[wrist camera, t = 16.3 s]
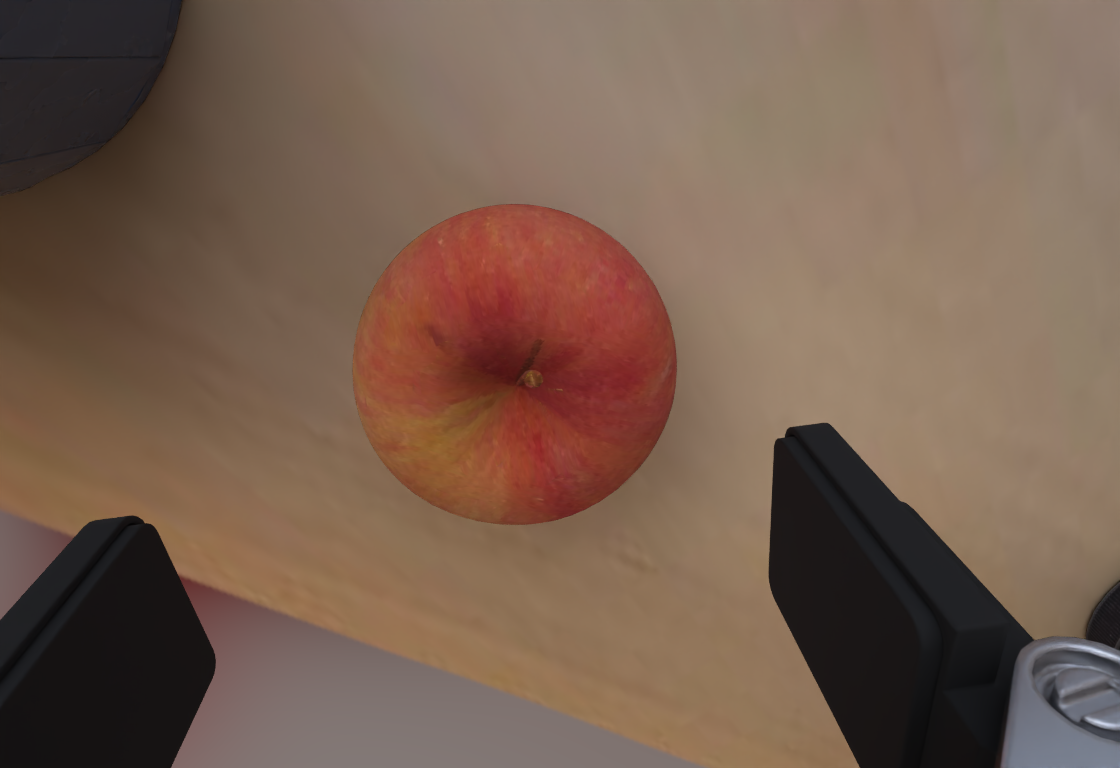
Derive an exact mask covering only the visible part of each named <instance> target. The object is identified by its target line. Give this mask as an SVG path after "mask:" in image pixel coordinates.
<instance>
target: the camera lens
mask: <svg viewBox="0 0 1120 768" xmlns="http://www.w3.org/2000/svg"><path fill="white" fill-rule="evenodd" d="M1086 640H1089V641H1094V642H1098V643H1102V644H1104V645H1107V646H1109V647H1112V648H1114V649H1117V650H1119V651H1120V582H1119V583H1118V584H1117V585H1116V586H1115V587H1114V588H1113V589H1112V590H1110V591H1109V592H1108V593H1107V594H1106V595H1105V597H1104V598H1103V600H1102V601H1101V602H1100V604H1099V605H1098V606H1097V608H1096V609H1095V611H1094V613H1093V615H1092V618H1091V620H1090V622H1089V624H1088V628H1087V633H1086Z"/></svg>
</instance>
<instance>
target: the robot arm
mask: <svg viewBox="0 0 1120 768" xmlns="http://www.w3.org/2000/svg"><path fill="white" fill-rule="evenodd" d="M769 583H770V587H771V591H772V594H773V597H774V599H775V601H776V603H777V605H778V607H779V609H780V611H781V613H782V615H783V617H784V619H785V621H786V623H787V625H788V627H789V629H790V631H791V633H792V635H793V637H794V639H795V641H796V643H797V645H798V646H799V648H800V650H801V652H802V654H803V656H804V658H805V660H806V662H807V664H808V666H809V668H810V670H811V672H812V674H813V676H814V678H815V680H816V682H817V684H818V686H819V688H820V690H821V692H822V694H823V696H824V698H825V700H826V702H827V704H828V706H829V707H830V709H831V711H832V713H833V715H834V717H835V719H836V721H837V723H838V725H839V727H840V729H841V731H842V733H843V735H844V737H845V739H846V741H847V743H848V745H849V747H850V749H851V751H852V753H853V755H854V757H855V759H856V761H857V763H858V765H859V767H860V768H1120V651H1119V650H1117V649H1114V648H1112V647H1109V646H1107V645H1104V644H1102V643H1098V642H1094V641H1089V640H1085V639H1081V638H1076V637H1056V636H1052V637H1047V638H1043V639H1038V640H1034V639H1033V638H1032V637H1031V636H1030V635H1029V634H1028V633H1027V632H1026V631H1025V630H1024V628H1023V627H1022V626H1021V625H1020V624H1019V623H1018V622H1017V621H1016V620H1015V619H1014V618H1013V617H1012V615H1011V614H1010V613H1009V612H1008V611H1007V610H1006V609H1005V608H1004V607H1003V606H1002V605H1001V604H1000V602H999V601H998V600H997V599H996V598H995V597H994V596H993V595H992V594H991V593H990V592H989V590H988V589H987V588H986V587H985V586H984V585H983V584H982V583H981V582H980V581H979V580H978V579H977V577H976V576H975V575H974V574H973V573H972V572H971V571H970V570H969V569H968V568H967V567H966V566H965V564H964V563H963V562H962V561H961V560H960V559H959V558H958V557H957V556H956V555H955V554H954V552H953V551H952V550H951V549H950V548H949V547H948V546H947V545H946V544H945V543H944V542H943V541H942V539H941V538H940V537H939V536H938V535H937V534H936V533H935V532H934V531H933V530H932V529H931V528H930V526H929V525H928V524H927V523H926V522H925V521H924V520H923V519H922V518H921V517H920V516H919V514H918V513H917V512H916V511H915V510H914V509H913V508H911V507H910V506H909V505H908V504H907V503H904V502H901V501H899V500H898V498H897V497H896V496H895V495H894V494H893V493H892V492H891V491H890V490H889V489H888V487H887V486H886V485H885V484H884V483H883V482H882V481H881V480H880V479H879V478H878V476H877V475H876V474H875V473H874V472H873V471H872V470H871V469H870V468H869V467H868V465H867V464H866V463H865V462H864V461H863V460H862V459H861V458H860V457H859V455H858V454H857V453H856V452H855V451H854V450H853V449H852V448H851V447H850V446H849V444H848V443H847V442H846V441H845V440H844V439H843V438H842V437H841V436H840V435H839V433H838V432H837V431H836V430H835V429H834V428H833V427H832V426H831V425H830V424H828V423H819V424H811V425H804V426H796V427H790V428H788V429H787V431H786V434H785V438H779V439H777V440H776V441H775V445H774V461H773V484H772V507H771V530H770V553H769ZM215 664H216V659H215V654H214V650H213V648H212V646H211V644H210V642H209V640H208V638H207V635H206V633H205V631H204V629H203V627H202V625H201V623H200V621H199V618H198V616H197V614H196V612H195V610H194V608H193V606H192V604H191V601H190V599H189V597H188V595H187V593H186V591H185V589H184V587H183V585H182V583H181V580H180V578H179V576H178V574H177V572H176V570H175V568H174V565H173V563H172V561H171V559H170V557H169V555H168V553H167V551H166V549H165V546H164V544H163V542H162V540H161V538H160V536H159V534H158V532H157V530H156V529H155V527H154V526H153V525H151V524H147V523H146V524H145V523H144V521H143V520H142V519H140V518H139V517H137V516H125V517H117V518H110V519H102V520H95V521H92V522H89V523H88V524H87V525H85V526H84V527H83V528H82V529H81V531H80V532H79V533H78V534H77V535H76V536H75V537H74V538H73V540H72V541H71V542H70V543H69V544H68V545H67V546H66V547H65V549H64V550H63V551H62V552H61V553H60V554H59V555H58V556H57V557H56V559H55V560H54V561H53V562H52V563H51V564H50V565H49V566H48V567H47V569H46V570H45V571H44V572H43V573H42V574H41V575H40V576H39V578H38V579H37V580H36V581H35V582H34V583H33V584H32V585H31V586H30V588H29V589H28V590H27V591H26V592H25V593H24V594H23V595H22V596H21V598H20V599H19V600H18V601H17V602H16V603H15V604H14V605H13V607H12V608H11V609H10V610H9V611H8V612H7V613H6V614H5V615H4V617H3V618H2V619H1V620H0V768H171V766H172V764H173V762H174V760H175V758H176V755H177V753H178V751H179V749H180V747H181V745H182V743H183V741H184V738H185V736H186V734H187V732H188V730H189V728H190V725H191V723H192V721H193V719H194V717H195V715H196V713H197V711H198V708H199V706H200V704H201V702H202V700H203V698H204V696H205V693H206V691H207V689H208V687H209V685H210V683H211V681H212V678H213V676H214V672H215Z"/></svg>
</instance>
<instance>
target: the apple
mask: <svg viewBox="0 0 1120 768" xmlns="http://www.w3.org/2000/svg"><path fill="white" fill-rule="evenodd" d="M676 372H677V359H676V348H675V340H674V336H673V331H672V327H671V323H670V320H669V317H668V314H667V311H666V308H665V306H664V303H663V301H662V299H661V297H660V295H659V293H658V291H657V289H656V287H655V285H654V284H653V282H652V280H651V279H650V278H649V276H648V275H647V273H646V272H645V270H644V269H643V268H642V266H641V265H640V264H639V263H638V262H637V260H636V259H635V258H634V257H633V256H632V255H631V254H630V253H629V252H628V251H627V249H625V248H624V247H623V246H622V245H621V244H620V243H619V242H618V241H616V240H615V239H614V238H612V237H611V236H610V235H608V234H607V233H605V232H604V231H603V230H601V229H599V228H597V227H596V226H594V225H592V224H590V223H589V222H587V221H585V220H583V219H581V218H578V217H576V216H573V215H571V214H568V213H565V212H562V211H558V210H555V209H551V208H546V207H540V206H533V205H521V204H508V205H495V206H488V207H483V208H479V209H475V210H471V211H468V212H464V213H461V214H459V215H456V216H454V217H451V218H449V219H447V220H445V221H443V222H441V223H439V224H437V225H435V226H433V227H432V228H430V229H429V230H427V231H426V232H424V233H423V234H421V235H420V236H419V237H417V238H416V239H415V240H414V241H412V242H411V243H410V244H409V245H407V246H406V247H405V248H404V249H403V250H402V251H401V252H400V253H399V254H398V255H397V256H396V257H395V259H394V260H393V261H392V262H391V263H390V265H389V266H388V267H387V268H386V270H385V271H384V272H383V274H382V275H381V277H380V278H379V280H378V282H377V283H376V285H375V286H374V288H373V290H372V292H371V294H370V296H369V298H368V300H367V303H366V305H365V308H364V310H363V313H362V316H361V319H360V322H359V326H358V330H357V334H356V340H355V345H354V354H353V386H354V394H355V400H356V405H357V409H358V413H359V416H360V419H361V422H362V425H363V427H364V430H365V432H366V435H367V437H368V439H369V441H370V443H371V445H372V446H373V448H374V450H375V451H376V453H377V454H378V456H379V457H380V459H381V460H382V462H383V463H384V464H385V466H386V467H387V468H388V469H389V470H390V472H391V473H392V474H393V475H394V476H395V477H396V478H397V479H398V480H399V481H400V482H401V483H402V484H404V485H405V486H406V487H407V488H408V489H410V490H411V491H412V492H413V493H414V494H416V495H418V496H419V497H421V498H422V499H424V500H426V501H427V502H429V503H430V504H432V505H434V506H436V507H438V508H441V509H443V510H445V511H447V512H450V513H452V514H455V515H458V516H461V517H465V518H468V519H472V520H476V521H481V522H487V523H494V524H507V525H525V524H536V523H543V522H549V521H554V520H558V519H561V518H564V517H568V516H571V515H573V514H576V513H578V512H580V511H583V510H585V509H587V508H589V507H591V506H592V505H594V504H596V503H598V502H600V501H601V500H603V499H604V498H605V497H607V496H608V495H610V494H611V493H613V492H614V491H615V490H617V489H618V488H619V487H620V486H621V485H622V484H623V483H625V482H626V481H627V480H628V479H629V478H630V477H631V476H632V474H633V473H634V472H635V471H636V470H637V469H638V468H639V467H640V466H641V465H642V463H643V462H644V461H645V459H646V458H647V457H648V455H649V454H650V452H651V451H652V449H653V448H654V446H655V444H656V443H657V441H658V439H659V437H660V435H661V433H662V431H663V429H664V427H665V424H666V422H667V419H668V416H669V413H670V410H671V407H672V403H673V399H674V393H675V387H676Z"/></svg>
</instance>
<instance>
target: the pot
mask: <svg viewBox="0 0 1120 768" xmlns="http://www.w3.org/2000/svg"><path fill="white" fill-rule="evenodd" d="M181 2H182V0H0V196H3V195H6V194H10V193H14V192H17V191H21V190H25V189H27V188H30V187H32V186H33V185H35V184H37V183H39V182H40V181H42V180H44V179H45V178H47V177H49V176H52V175H54V174H57V173H59V172H61V171H64V170H66V169H68V168H70V167H72V166H74V165H75V164H77V163H78V162H80V161H82V160H83V159H85V158H86V157H88V156H89V155H91V154H93V153H94V152H96V151H97V150H99V149H100V148H101V147H102V146H103V145H104V144H105V143H106V142H108V141H109V140H110V139H111V138H112V137H113V136H114V135H115V134H116V133H118V132H119V131H120V130H121V129H122V128H123V127H124V126H125V125H126V123H127V122H128V121H129V119H130V118H131V117H132V116H133V114H134V113H135V112H136V111H137V109H138V108H139V107H140V105H141V104H142V103H143V102H144V100H145V99H146V97H147V95H148V93H149V91H150V90H151V88H152V86H153V84H154V82H155V80H156V79H157V77H158V75H159V73H160V71H161V69H162V68H163V65H164V62H165V59H166V56H167V54H168V51H169V48H170V45H171V42H172V40H173V37H174V34H175V31H176V27H177V22H178V17H179V12H180V7H181Z"/></svg>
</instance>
